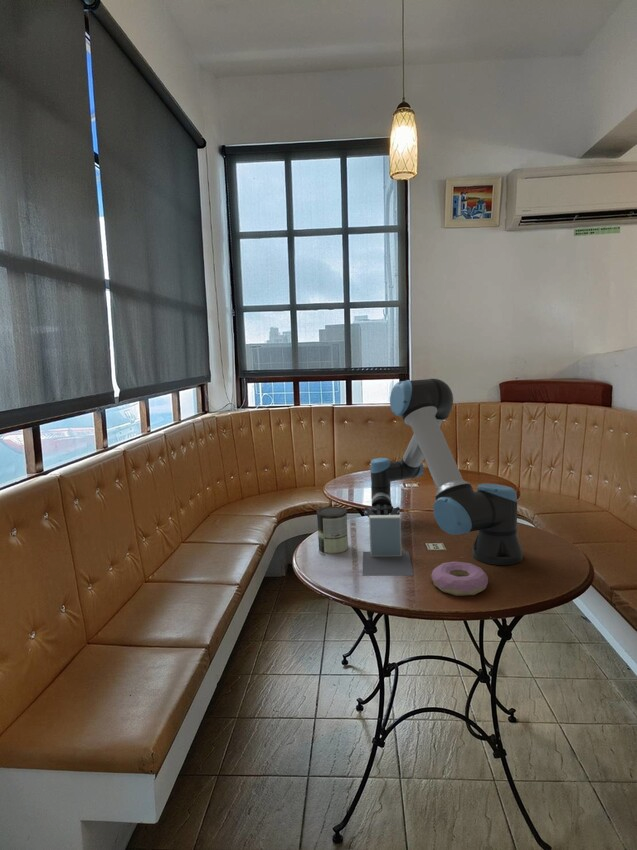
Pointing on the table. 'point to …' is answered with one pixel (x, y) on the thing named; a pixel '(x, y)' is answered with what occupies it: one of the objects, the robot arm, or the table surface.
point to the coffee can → (332, 530)
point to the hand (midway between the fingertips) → (383, 525)
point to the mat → (387, 565)
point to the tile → (385, 535)
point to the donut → (459, 578)
